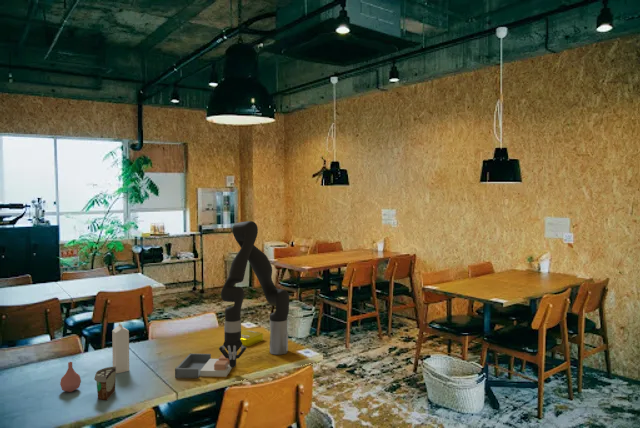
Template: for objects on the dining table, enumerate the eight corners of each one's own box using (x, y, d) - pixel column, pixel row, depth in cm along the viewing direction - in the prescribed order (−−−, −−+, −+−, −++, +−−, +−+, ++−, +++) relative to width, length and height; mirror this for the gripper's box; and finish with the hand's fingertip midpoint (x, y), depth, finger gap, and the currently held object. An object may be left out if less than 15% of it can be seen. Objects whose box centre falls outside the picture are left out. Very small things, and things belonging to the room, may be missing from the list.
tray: (210, 361, 233) (210, 353, 232) (197, 378, 212) (197, 369, 212) (189, 361, 233) (189, 353, 233) (175, 377, 212) (174, 368, 212)
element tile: (264, 340, 269) (264, 332, 269) (247, 347, 256) (247, 338, 256) (244, 336, 277) (244, 328, 277) (226, 343, 264) (226, 334, 264)
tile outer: (227, 366, 220) (227, 360, 220) (225, 369, 215) (225, 364, 215) (217, 365, 220) (217, 360, 220) (214, 369, 215) (214, 364, 215)
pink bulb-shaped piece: (59, 396, 192) (58, 366, 192) (61, 389, 199) (60, 360, 199) (80, 392, 195) (80, 364, 195) (81, 386, 202) (81, 358, 202)
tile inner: (231, 360, 228) (231, 354, 228) (229, 363, 223) (229, 358, 223) (221, 359, 228) (221, 354, 228) (218, 363, 223) (218, 358, 223)
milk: (115, 373, 217) (115, 326, 216) (112, 369, 222) (111, 323, 221) (129, 370, 220) (128, 324, 219) (126, 367, 225) (125, 321, 224)
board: (234, 364, 230) (234, 359, 229) (226, 376, 214) (226, 371, 213) (210, 363, 230) (210, 358, 230) (200, 376, 214) (200, 370, 214)
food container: (101, 389, 199) (101, 366, 198) (116, 389, 199) (116, 366, 199) (89, 402, 186) (89, 377, 186) (105, 402, 187) (105, 377, 186)
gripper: (248, 327, 220) (248, 364, 221) (220, 327, 221) (220, 363, 221) (245, 332, 213) (245, 370, 213) (216, 331, 213) (216, 369, 214)
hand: (232, 367), depth 217 cm, fingers closed
